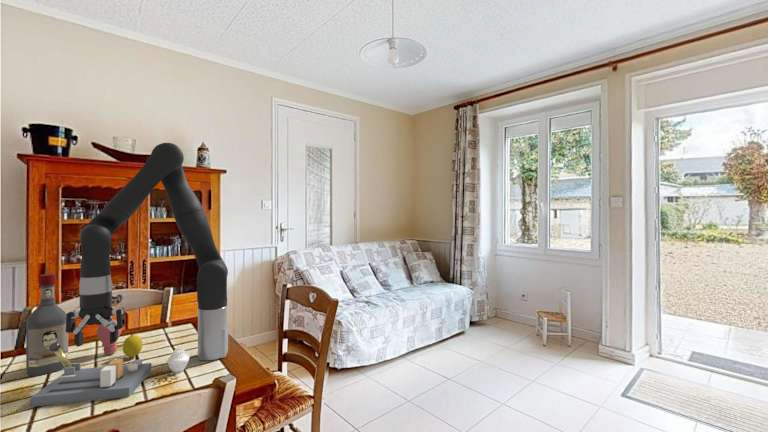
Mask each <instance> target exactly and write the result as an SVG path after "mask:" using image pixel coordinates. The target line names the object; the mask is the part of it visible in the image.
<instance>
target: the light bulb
mask: <svg viewBox="0 0 768 432" xmlns="http://www.w3.org/2000/svg"><path fill="white" fill-rule="evenodd" d="M114 321H115V323H116V324H117V319H114ZM97 326H98V327H97V328H96V336H97V338H98V340H99V341H100V343H102V347H103V355H112V354H113V353H116V352H118V345H117V341H118V340H117V341H116V342H115V343H113V344H110V332H111V331H110V330H109V329H108V328H107V327H105V326H104V325H103V324H101V325H97ZM122 331H123V328H121V329H118V339H119V338H120V336H121V333H122Z"/></svg>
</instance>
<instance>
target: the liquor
mask: <svg viewBox="0 0 768 432" xmlns="http://www.w3.org/2000/svg"><path fill="white" fill-rule="evenodd" d="M55 285H56V273H47V274H46V273H44V274H43V273H42V274H39V286H40V301H39V303H38V304H39V305H38V306H37V307H36V308H35V309H34V310H33V312H31V313H30V314H29V315H28V316H27V318H26V321H25V323H26V325H25V329H26V331H25V335H26V336H25V337H26V338H25V339H26V341H25V342H26V343H25V345H26V346H25V347H26V348H25V349H26V350H25V354H26V355H25V361H26V363H25V369H26V371H27V374H28V375H29V376H30V377H40V376H43V375H47V374H51V373H55V372H59V371H60V372H61V370H64V368H65V367H64V366H63V364H62V363H61V361H60V360H59V358H58V357H57V356H56V354H55V353H54V352H52V351H50V350H49V346H50V345H51V344H52V343H55V342H58V343H60V344H61V350H62V351H63V352H64V354H65V355H66V357H67V358H68V359H69V333H67V332H66V317H67V313H66V311H64V310H63V309H62V308H61V307H60V306H59V305H57V304H56V299H55V298H56V297H55Z"/></svg>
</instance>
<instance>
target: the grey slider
mask: <svg viewBox="0 0 768 432" xmlns="http://www.w3.org/2000/svg"><path fill="white" fill-rule="evenodd" d="M103 367H104V368H103V369H102V370H101V371H100V387H108V386H111V385H112V384H113V383H115V382H116V365H115V366H109V365H106V366H103Z"/></svg>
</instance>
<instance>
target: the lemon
mask: <svg viewBox="0 0 768 432" xmlns="http://www.w3.org/2000/svg"><path fill="white" fill-rule="evenodd" d="M142 350H143V340H142V338H141V337H140V336H139V335H138V334H137V335H136V334H135V333H133V334H131V335H129V336H128V337H126V338H125V339H124V341H123V343H122V352H123V354H124V355H125V356H126V357H130V358H134V357H135V356H137V355H139V354H140V352H141V351H142Z"/></svg>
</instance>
